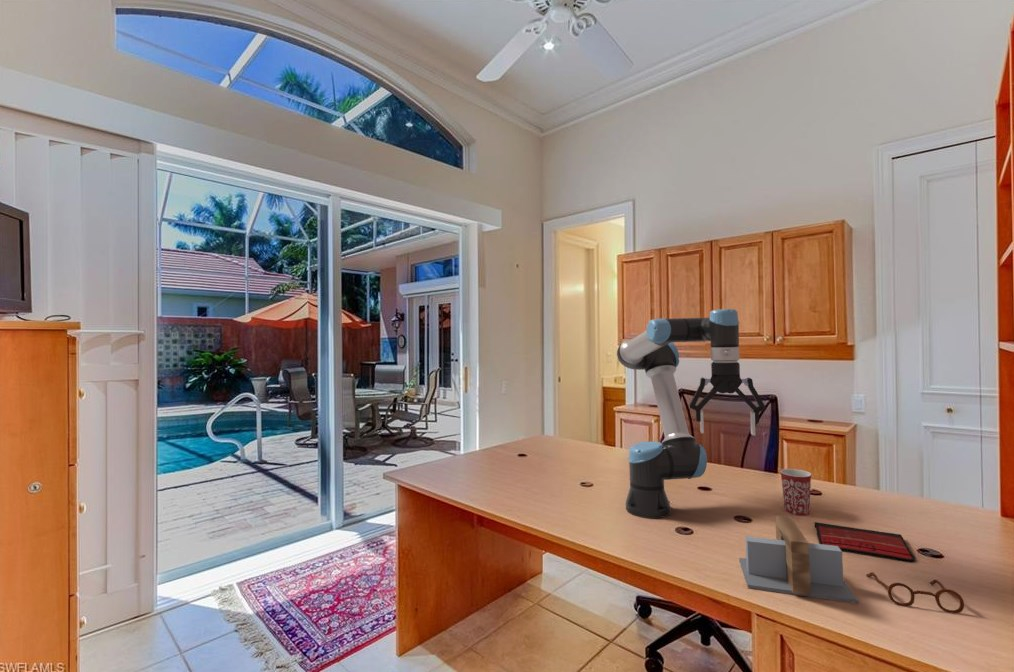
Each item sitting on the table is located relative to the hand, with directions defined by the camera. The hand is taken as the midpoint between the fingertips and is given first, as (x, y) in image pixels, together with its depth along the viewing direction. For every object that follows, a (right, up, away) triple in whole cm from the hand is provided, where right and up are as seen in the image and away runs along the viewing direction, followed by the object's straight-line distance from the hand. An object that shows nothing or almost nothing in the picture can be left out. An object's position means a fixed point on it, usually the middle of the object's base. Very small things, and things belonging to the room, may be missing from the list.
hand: (727, 433), depth 132 cm
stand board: (+6, -32, -21) cm, 39 cm away
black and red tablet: (+37, -32, -3) cm, 49 cm away
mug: (+36, -32, +22) cm, 53 cm away
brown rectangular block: (+6, -31, -21) cm, 38 cm away
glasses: (+29, -32, -28) cm, 51 cm away
